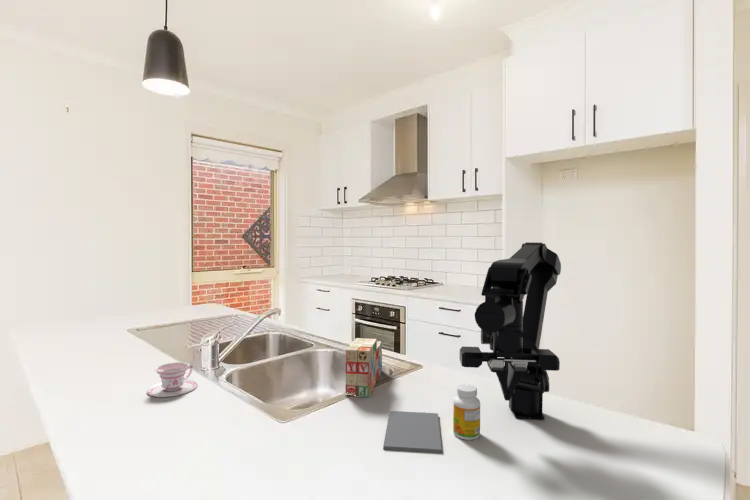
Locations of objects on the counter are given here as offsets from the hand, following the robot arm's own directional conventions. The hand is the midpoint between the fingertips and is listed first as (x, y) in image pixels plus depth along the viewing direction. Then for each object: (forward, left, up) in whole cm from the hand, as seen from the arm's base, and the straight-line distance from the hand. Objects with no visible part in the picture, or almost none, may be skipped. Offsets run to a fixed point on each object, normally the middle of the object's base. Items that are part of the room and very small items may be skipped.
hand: (506, 399), depth 82 cm
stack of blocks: (+33, -27, -8) cm, 43 cm away
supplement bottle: (+8, 0, -8) cm, 11 cm away
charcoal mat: (+19, 0, -8) cm, 20 cm away
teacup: (+83, -16, -8) cm, 85 cm away
